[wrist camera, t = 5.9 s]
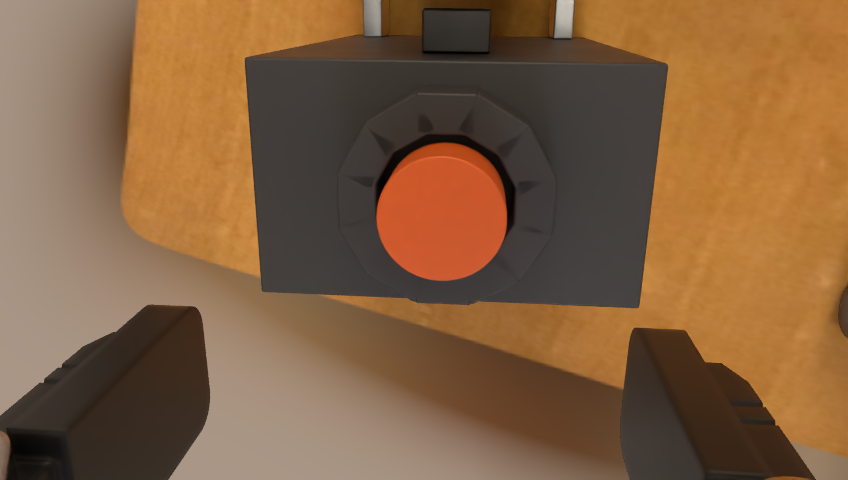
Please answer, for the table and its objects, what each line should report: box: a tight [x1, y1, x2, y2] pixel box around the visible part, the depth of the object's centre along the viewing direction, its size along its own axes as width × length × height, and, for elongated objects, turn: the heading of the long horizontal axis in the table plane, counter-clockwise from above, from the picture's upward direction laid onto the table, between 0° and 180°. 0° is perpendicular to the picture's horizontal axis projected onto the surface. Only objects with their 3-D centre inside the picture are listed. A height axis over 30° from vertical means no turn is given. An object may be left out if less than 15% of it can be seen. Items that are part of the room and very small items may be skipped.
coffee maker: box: [245, 35, 668, 308], centre depth 30 cm, size 8×13×21 cm, turn 90°
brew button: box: [376, 142, 507, 281], centre depth 20 cm, size 4×4×2 cm
